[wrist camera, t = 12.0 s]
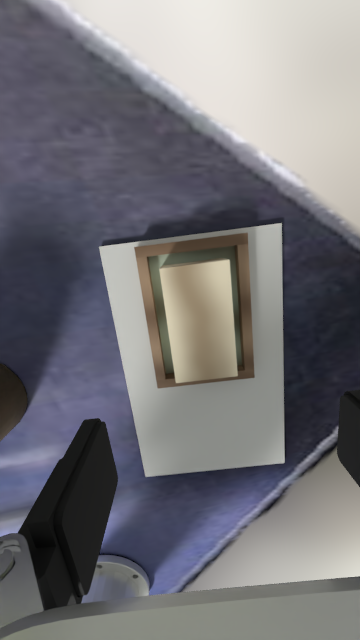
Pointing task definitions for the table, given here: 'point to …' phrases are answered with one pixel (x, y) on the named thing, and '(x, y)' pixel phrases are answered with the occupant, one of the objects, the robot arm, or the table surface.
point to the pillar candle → (10, 400)
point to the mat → (209, 398)
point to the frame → (154, 306)
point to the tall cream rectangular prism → (200, 319)
